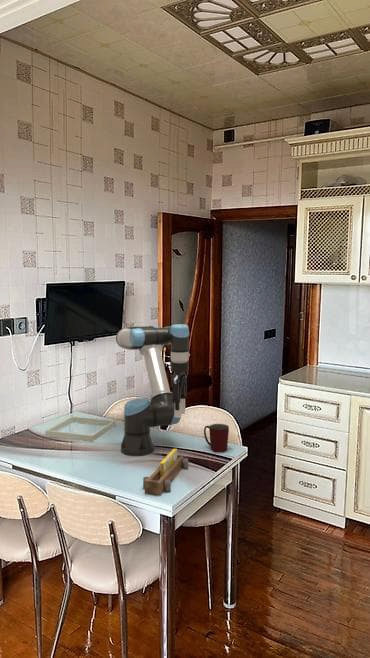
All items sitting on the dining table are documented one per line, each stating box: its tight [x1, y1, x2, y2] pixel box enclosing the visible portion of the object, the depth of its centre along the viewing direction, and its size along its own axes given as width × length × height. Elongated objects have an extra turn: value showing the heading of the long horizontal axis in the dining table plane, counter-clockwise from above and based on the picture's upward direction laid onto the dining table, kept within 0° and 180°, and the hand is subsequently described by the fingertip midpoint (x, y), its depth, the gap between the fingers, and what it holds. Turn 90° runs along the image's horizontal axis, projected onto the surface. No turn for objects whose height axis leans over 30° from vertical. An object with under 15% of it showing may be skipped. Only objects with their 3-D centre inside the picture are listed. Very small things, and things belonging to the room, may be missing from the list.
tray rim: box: [44, 415, 117, 443], centre depth 255 cm, size 26×26×3 cm
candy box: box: [159, 448, 179, 478], centre depth 199 cm, size 16×2×8 cm, turn 162°
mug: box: [203, 423, 230, 453], centre depth 228 cm, size 12×9×11 cm
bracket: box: [142, 455, 189, 497], centre depth 195 cm, size 11×28×5 cm, turn 163°
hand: (179, 415), depth 211 cm, fingers open, 5 cm apart
